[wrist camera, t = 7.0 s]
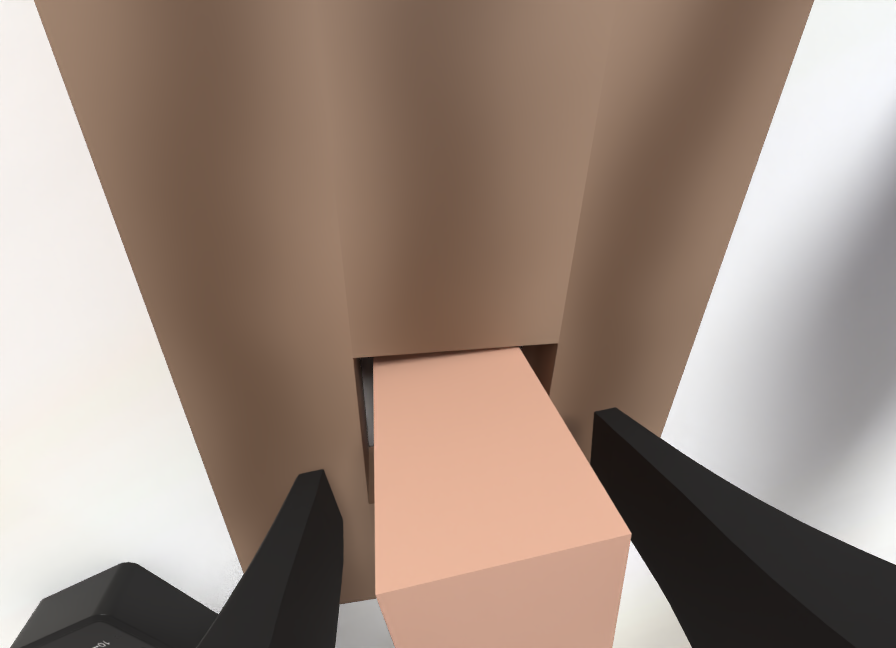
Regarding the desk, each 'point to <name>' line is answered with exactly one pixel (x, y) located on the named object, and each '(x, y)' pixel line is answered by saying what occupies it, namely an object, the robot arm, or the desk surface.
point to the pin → (487, 509)
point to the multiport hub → (117, 614)
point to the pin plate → (415, 204)
